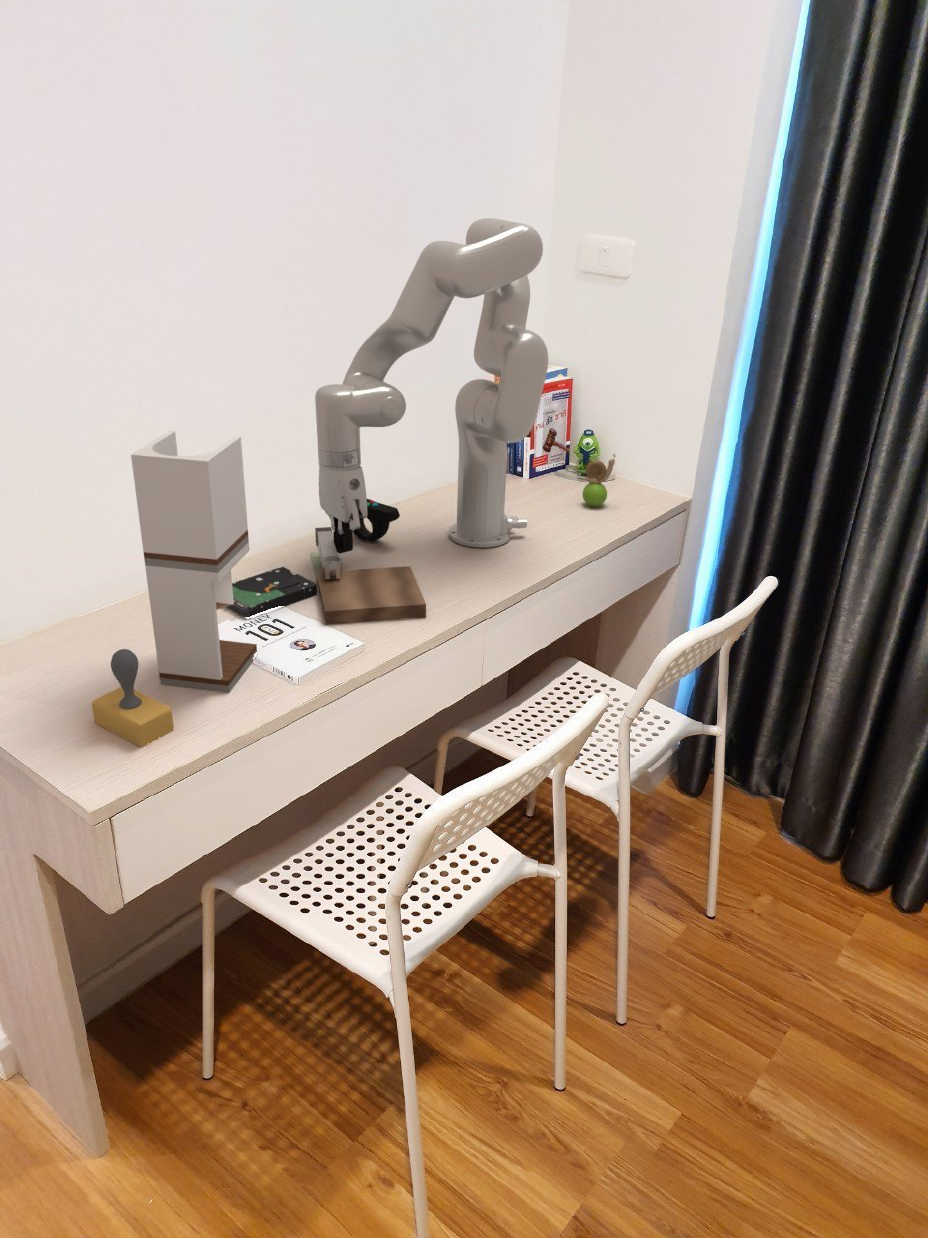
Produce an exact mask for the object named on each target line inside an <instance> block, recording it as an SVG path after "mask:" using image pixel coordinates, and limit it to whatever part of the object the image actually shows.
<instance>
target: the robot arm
mask: <svg viewBox="0 0 928 1238" xmlns="http://www.w3.org/2000/svg"><path fill="white" fill-rule="evenodd" d="M543 251H544V244H543V240H542V237H541V235H540V234H539V232H538V231H537V230H536V229H535V228H534V227H532V226H530V225H529V224H526V223H521V222H515V221H509V220H505V219H498V218H493V217H491V218H489V217H488V218H487V217H486V218H481V219H478V220H475V221H474V222H472V224H470V225H469V227H468V228H467V232H466V236H465V244H463V243H458V242H454V241H448V240H447V241H445V240H437V241H436V240H435V241H433V242H430V243H429V244H427V245H426V246H425V247H424V248H423V250H422V251H421V253H420V255H419V257H418V259H417V260H416V263H415V265H414V267H413V269H412V271H411V272H410V275H409V277H408V278H407V279H408V280H407V282H406V283H405V285H404V287H403V290H402V292H401V294H400V296H399V297H398V300H397V301H396V303H395V306H394V307H393V310H392V312H391V314H390V315H389V317H388V318H387V319H386V320H385V321H384V322H383V323H382V324H381V325H379V326H378V328H376V330H375V331H373V332H372V334H371V335H369V337H368V338H366V340H365V341H364V342H363V343H362V344H361V346H360V347H359V348H358V350H357V351H356V353H355V355H354V357H353V359H352V361H351V363H350V364H349V365H350V366H349V367H348V369H347V371H346V374H345V376H344V378H343V381H342V384H341V383H340V384H339V383H334V384H333V383H332V384H327V385H323V386H321V387H319V388H318V389H317V390H316V391H315V396H314V401H315V404H314V405H315V417H316V418H315V419H316V437H317V456H318V459H317V460H318V466H319V468H318V498H319V505H320V508H321V509H322V510H323V511H324V513H325V515H327V516H328V517H329V519H330V527H331V529H332V536H333V540H334V543H335V547H336V550H337V554H344V553H349V552H351V551H353V550H354V540H353V539H354V538H353V537H354V536H353V535H354V534H353V531H354V530H355V529H359V528H360V521H359V517H361V518H364V519H367V518H366V517H367V499H368V497H367V490H366V482H365V481H366V480H365V475H364V471H363V467H362V466H361V465H362V461H361V460H362V457H361V456H362V455H361V430H360V429H361V428H385V427H386V428H387V427H390V426H394V425H396V424H397V423H399V421H401V420H402V418H403V417H404V415H405V413H406V408H407V404H406V398H405V396H404V395H403V393H402V392H401V391H400V389H398V388H397V387H395V386H394V385H392V384H390V383H387V382H385V381H384V380H385V378H386V376H387V375H388V372H389V370H390V369H391V368H392V366H393V365H394V364H395V362H397V361H398V359H400V358H401V357H402V356H403V355H405V354H407V353H409V352H411V351H413V350H416V349H418V348H419V349H420V348H421V347H423V346H425V345H428V344H429V343H431V342H432V341H433V340H435V337H436V336H437V333H438V331H439V329H440V327H441V325H442V323H443V321H444V319H445V317H446V314H447V313H448V310H449V309H450V306H451V304H452V303H453V300H454V299H455V297H457V298H461V299H472V298H477V297H480V296H483V301H482V302H483V303H482V307H481V308H482V310H481V313H480V318H479V323H478V328H477V331H476V332H477V333H476V337H475V341H474V348H473V349H474V350H473V359H474V361H475V364H476V365H477V366H478V367H479V368H480V369H481V370H482V371H484V372H486V373H488V374H491V375H493V376H496V377H498V378H499V383H497V382H494V381H493V380H488V379H483V378H476V379H472V380H470V381H468V382H467V383H465V384H464V385H463V386H462V387H461V388H460V389H459V391H458V394H457V396H456V399H455V405H454V406H455V407H454V411H455V419H456V426H457V433H458V434H457V435H458V464H457V466H458V467H457V469H458V470H457V501H456V503H457V504H456V523H454V524H453V525H451V526H450V527H449V529H448V536H449V539H451V541H453V542H454V543H456V544H458V545H462V546H464V547H470V548H482V549H484V548H494V547H498V546H502V545H504V544H506V543H508V542H509V541H510V540H511V532H512V529H526V528H527V526H528V521H527V518H518V515H510V516H507V515H506V514H505V505H506V501H505V500H506V484H507V483H506V482H507V465H508V445H507V444H508V443H509V444H514V443H515V444H516V443H518V442H521V441H522V440H524V439H525V438H526V437H528V435H529V434H530V432H531V431H532V430H533V427H534V424H535V421H536V419H537V416H538V412H539V407H540V403H541V399H542V395H543V390H544V386H545V382H546V378H547V373H548V368H549V351H548V347H547V345H546V343H545V341H544V339H543V338H542V337H541V336H540V335H539V334H538V333H536V332H534V331H532V330H529V329H526V326H527V320H528V314H529V308H530V303H531V302H530V300H531V287H530V286H531V285H530V281H529V280H530V279H529V277H528V275H529V274H530V273H532V272H533V271H534V270H535V269H536V268H537V266H538V265H539V264H540V262H541V260H542V257H543Z"/></svg>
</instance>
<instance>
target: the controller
mask: <svg viewBox="0 0 928 1238" xmlns="http://www.w3.org/2000/svg"><path fill="white" fill-rule="evenodd" d="M400 517H401V514H400V512H399V510H398V508H397V507H394V506H391V505H388V504H384V503H381V502H377V501H375V500H372V499H369V498H367V517H366V518H361V517H359V521H360V528H359V529H355V530H354V531H353V532H352V533H353V535H354V536H355V537H356V538H358V539H359V540H360V541H364V542H367V543H371V542H376V541H378V540H380V539H382V538H384V537H385V536H386V535H387V534H388V530H389V528H390V524H391V523H392V522H395V521H396V520H398V519H399V518H400ZM365 519H367V520H368V521H369V522H370V524H371V528H372V529H371V530H372V532H371V531H370V530H369V529H368V528H367V526H366V524H365Z"/></svg>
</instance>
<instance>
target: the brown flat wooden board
mask: <svg viewBox="0 0 928 1238" xmlns="http://www.w3.org/2000/svg"><path fill="white" fill-rule="evenodd" d="M310 557H311V562H312V568H313V571H314V576H315V581H316V582H315V583H316V584H317V593H318V596H319V600H320V605H321V610H322V616H323V619H324V624H325V625H340V624H353V623H354V624H355V623H369V622H382V621H393V620H395V621H397V620H406V619H407V620H408V619H409V620H411V619H422V618H426V617H427V603H426V600H425V598H424V596H423V593H422V591H421V590H420V586H419V584H418V581H417V579H416V577H415V575H414V572H413V570H412V568H411V566H410V565H408V566H407V565H405V566H391V567H388V566H387V567H375V568H359V569H358V568H356V569H342V568H341V577H340V578H339V579H325V578H324V577H323V566H322V562H321V558H320V554H319V551H312V552H310Z"/></svg>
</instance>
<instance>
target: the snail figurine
mask: <svg viewBox="0 0 928 1238" xmlns="http://www.w3.org/2000/svg"><path fill="white" fill-rule="evenodd" d="M612 456H613V458H610V459H609V460H608V466H606V465H605V463H604V462H602V461H600V460H591V461H590V462H588V463H587V464H586V466H585V475H587V476H586V477H584V479H585V481H587V482H588V483H587V484H585V486H584V487H583V490H582V499H583V501H584V502H585V504H587V506H590V507H599V506H601V505H603V504H604V503H605V502H606V500H607V497H608V490H607V488H606V486H605V485H604V484H603V483H605V482H606V481H607V480H608V479H609V477H610V476H611V474H612V472H613V469H614V465H615V463H616V460H615V458H616V454H615V453H612Z"/></svg>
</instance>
